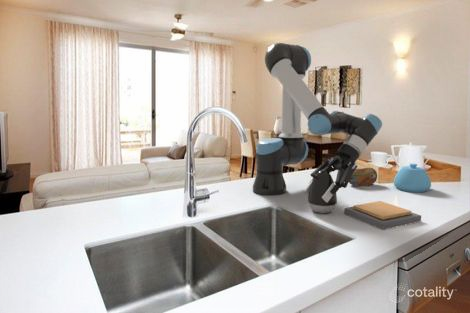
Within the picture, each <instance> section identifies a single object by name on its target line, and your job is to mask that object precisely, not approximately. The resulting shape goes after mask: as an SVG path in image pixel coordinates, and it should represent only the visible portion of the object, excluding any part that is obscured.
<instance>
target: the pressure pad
mask: <svg viewBox="0 0 470 313" xmlns="http://www.w3.org/2000/svg"><path fill="white" fill-rule="evenodd" d="M352 207H353V208H354V209H356V210H359V211H362V212H364V213H367V214H369V215H372V216H374V217H377V218H380V219H382V220H384V219H389V218H394V217H399V216H404V215H409V214H411V212H412V210H410V209H406V208H404V207H400V206H397V205H394V204H392V203H388V202H385V201H382V200H378V201H377V200H376V201H372V202H367V203H361V204H355V205H353V206H352Z"/></svg>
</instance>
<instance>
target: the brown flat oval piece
mask: <svg viewBox="0 0 470 313" xmlns="http://www.w3.org/2000/svg"><path fill="white" fill-rule="evenodd" d="M377 180H378V172H377V170H376V169H375V168H372V167H361V168H360V167H359V168H358V167H357V168H356V169H355V170H354V172H353V174H352V176H351V178H350V181H349V183H348V184H349V185H351V186H354V187H364V186H366V187H367V186H372V185H374V184H375V183H376V182H377Z"/></svg>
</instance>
